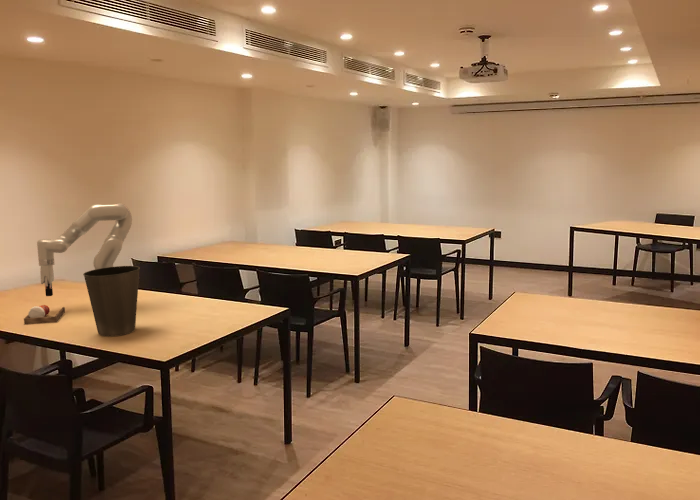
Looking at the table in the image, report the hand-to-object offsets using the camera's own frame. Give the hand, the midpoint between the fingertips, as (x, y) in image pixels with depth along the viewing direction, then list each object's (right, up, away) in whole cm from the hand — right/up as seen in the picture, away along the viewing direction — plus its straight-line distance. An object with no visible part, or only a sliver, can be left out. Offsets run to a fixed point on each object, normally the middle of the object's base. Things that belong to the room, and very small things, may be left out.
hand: (49, 295), depth 323 cm
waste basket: (+50, -15, -35) cm, 63 cm away
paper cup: (-1, -7, -4) cm, 8 cm away
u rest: (+3, -11, -9) cm, 15 cm away
